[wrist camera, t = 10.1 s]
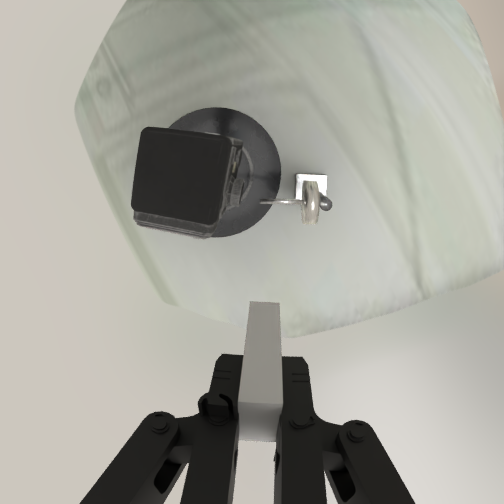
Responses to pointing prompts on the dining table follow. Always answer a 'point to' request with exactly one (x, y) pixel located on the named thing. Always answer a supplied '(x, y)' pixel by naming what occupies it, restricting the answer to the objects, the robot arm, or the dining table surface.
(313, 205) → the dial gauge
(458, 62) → the dining table surface
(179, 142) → the camera
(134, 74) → the dining table surface
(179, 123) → the disc
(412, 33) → the dining table surface
